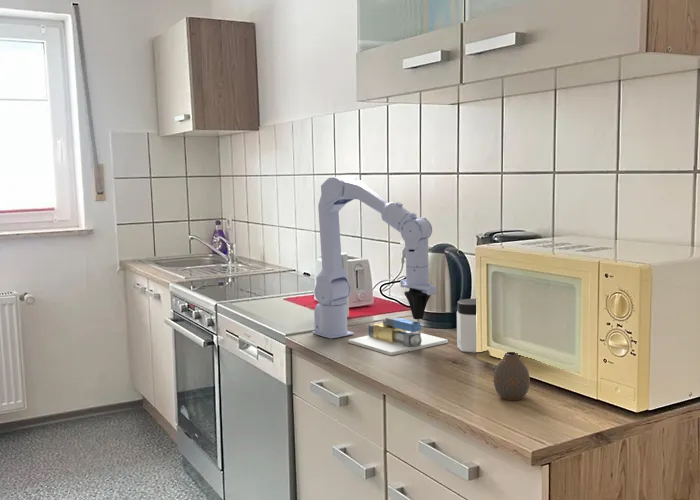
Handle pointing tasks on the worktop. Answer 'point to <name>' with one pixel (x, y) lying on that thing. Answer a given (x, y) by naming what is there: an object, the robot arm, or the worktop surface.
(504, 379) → the vase
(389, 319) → the lever
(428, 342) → the board
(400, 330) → the valve
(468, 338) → the jar
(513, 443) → the worktop surface
